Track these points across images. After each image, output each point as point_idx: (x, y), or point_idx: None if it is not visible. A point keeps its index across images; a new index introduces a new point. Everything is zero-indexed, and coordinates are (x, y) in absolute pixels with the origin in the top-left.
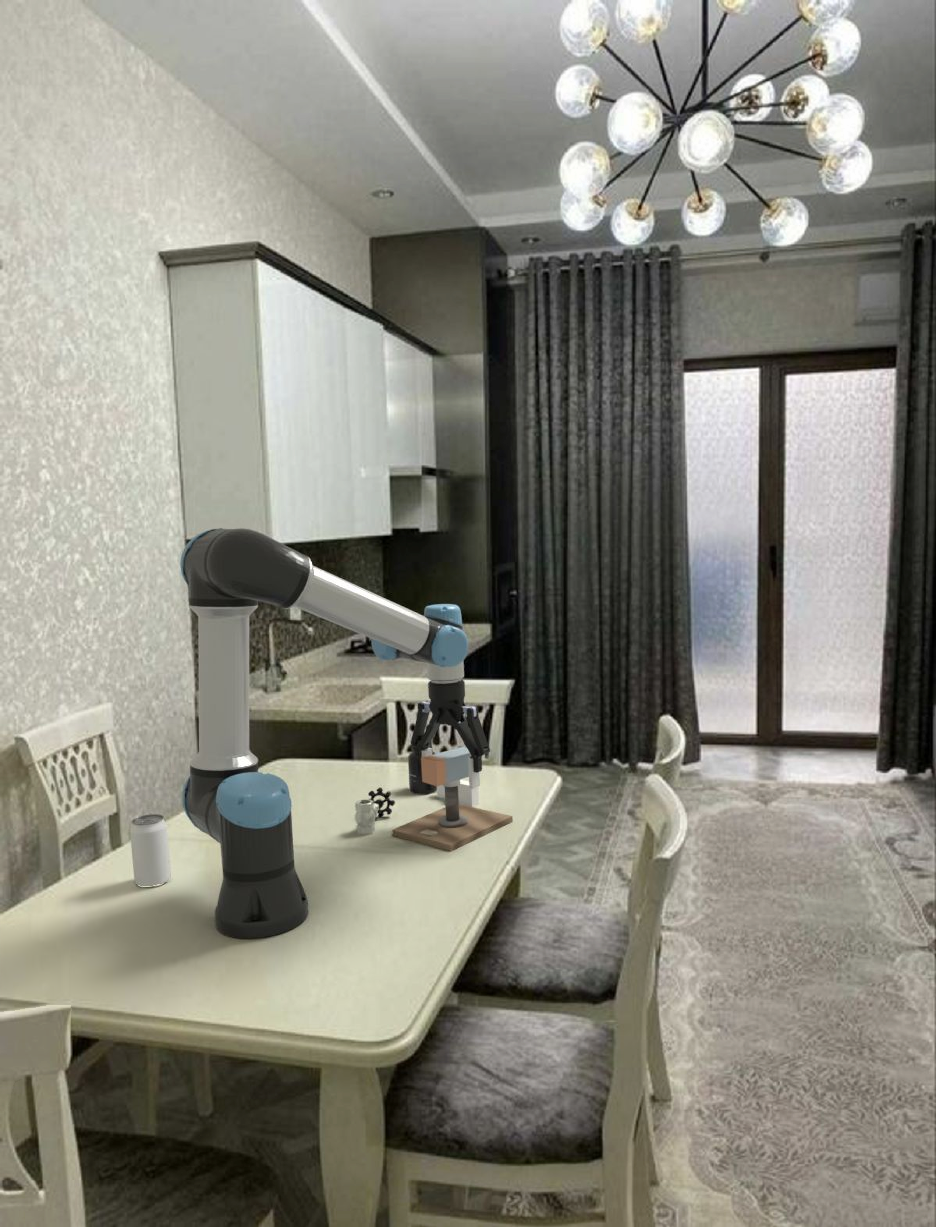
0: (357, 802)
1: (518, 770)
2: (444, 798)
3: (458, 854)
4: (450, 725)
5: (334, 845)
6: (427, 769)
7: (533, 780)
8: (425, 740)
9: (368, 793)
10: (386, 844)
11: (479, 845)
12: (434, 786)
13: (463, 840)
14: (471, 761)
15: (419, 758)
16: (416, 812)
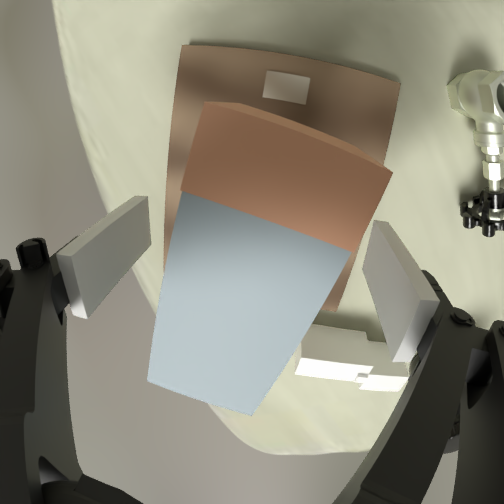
0: None
1: (303, 451)
2: (381, 342)
3: (162, 43)
4: (93, 480)
5: (469, 6)
6: (315, 133)
7: (260, 432)
8: (433, 357)
9: None
10: (371, 26)
11: (148, 111)
12: (413, 369)
13: (175, 92)
14: (68, 246)
15: (440, 287)
16: (413, 253)
